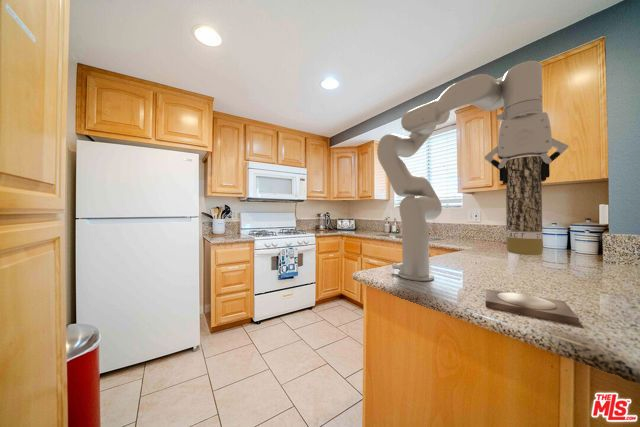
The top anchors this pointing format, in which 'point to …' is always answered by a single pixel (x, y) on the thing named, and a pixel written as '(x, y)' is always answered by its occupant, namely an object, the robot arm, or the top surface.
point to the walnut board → (531, 306)
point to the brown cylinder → (524, 205)
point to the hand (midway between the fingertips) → (523, 181)
